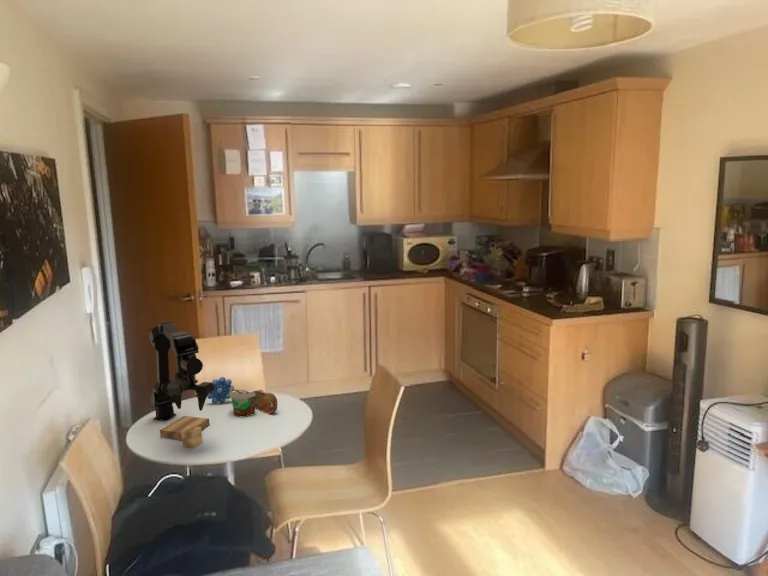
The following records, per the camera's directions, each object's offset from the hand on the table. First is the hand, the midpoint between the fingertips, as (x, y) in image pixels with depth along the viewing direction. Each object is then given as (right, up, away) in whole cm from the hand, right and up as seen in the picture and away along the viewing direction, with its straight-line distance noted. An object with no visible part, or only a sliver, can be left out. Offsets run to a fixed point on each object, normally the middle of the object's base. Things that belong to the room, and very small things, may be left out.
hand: (190, 409), depth 210 cm
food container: (+11, -8, +28) cm, 32 cm away
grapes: (0, -6, +43) cm, 43 cm away
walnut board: (-6, -11, +14) cm, 19 cm away
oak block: (0, -13, +2) cm, 13 cm away
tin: (+21, -7, +31) cm, 38 cm away
